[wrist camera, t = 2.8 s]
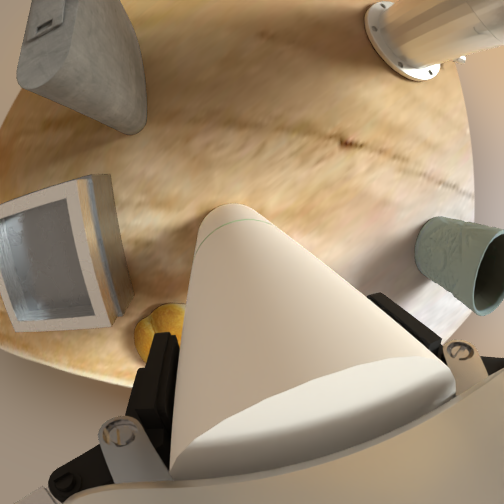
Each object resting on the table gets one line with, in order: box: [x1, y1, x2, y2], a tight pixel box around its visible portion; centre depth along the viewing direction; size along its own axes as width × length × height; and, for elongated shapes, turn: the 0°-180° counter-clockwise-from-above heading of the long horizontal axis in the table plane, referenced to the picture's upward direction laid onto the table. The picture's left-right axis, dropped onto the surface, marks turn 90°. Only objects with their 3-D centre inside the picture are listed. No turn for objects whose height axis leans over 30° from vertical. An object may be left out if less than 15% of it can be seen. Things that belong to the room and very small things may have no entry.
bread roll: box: [134, 303, 186, 363], centre depth 29 cm, size 8×9×4 cm
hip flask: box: [17, 0, 147, 135], centre depth 13 cm, size 16×4×20 cm, turn 14°
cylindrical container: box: [169, 203, 456, 481], centre depth 17 cm, size 7×7×25 cm
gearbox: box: [0, 174, 134, 332], centre depth 22 cm, size 16×13×8 cm
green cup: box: [415, 217, 504, 316], centre depth 27 cm, size 10×10×12 cm
